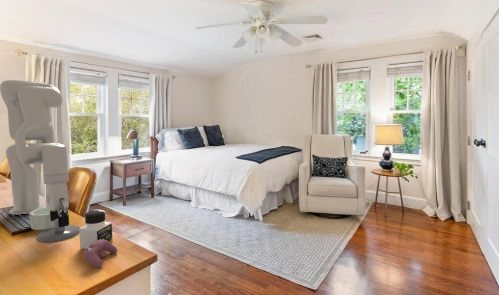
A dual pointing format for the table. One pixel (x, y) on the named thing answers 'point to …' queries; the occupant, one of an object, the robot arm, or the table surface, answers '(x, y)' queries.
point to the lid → (58, 233)
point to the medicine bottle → (95, 228)
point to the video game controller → (98, 247)
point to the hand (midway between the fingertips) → (59, 223)
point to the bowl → (41, 219)
